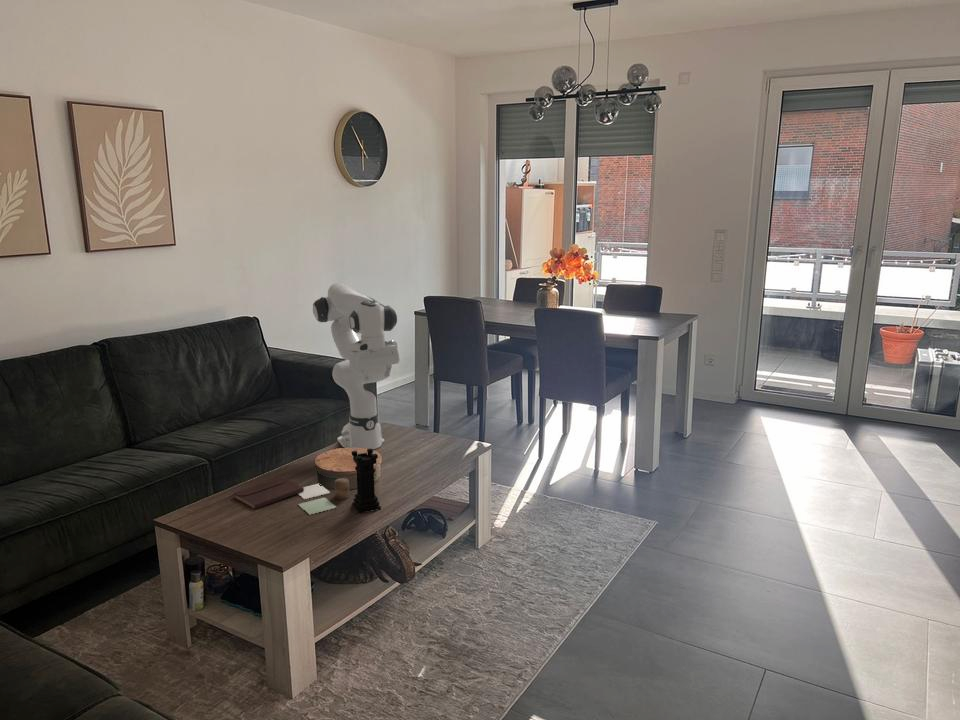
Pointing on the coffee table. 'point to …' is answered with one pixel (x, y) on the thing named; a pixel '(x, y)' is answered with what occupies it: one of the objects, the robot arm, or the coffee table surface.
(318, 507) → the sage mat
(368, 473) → the chess piece
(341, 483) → the brown cylinder
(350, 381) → the robot arm
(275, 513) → the coffee table surface
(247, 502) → the notebook
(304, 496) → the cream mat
